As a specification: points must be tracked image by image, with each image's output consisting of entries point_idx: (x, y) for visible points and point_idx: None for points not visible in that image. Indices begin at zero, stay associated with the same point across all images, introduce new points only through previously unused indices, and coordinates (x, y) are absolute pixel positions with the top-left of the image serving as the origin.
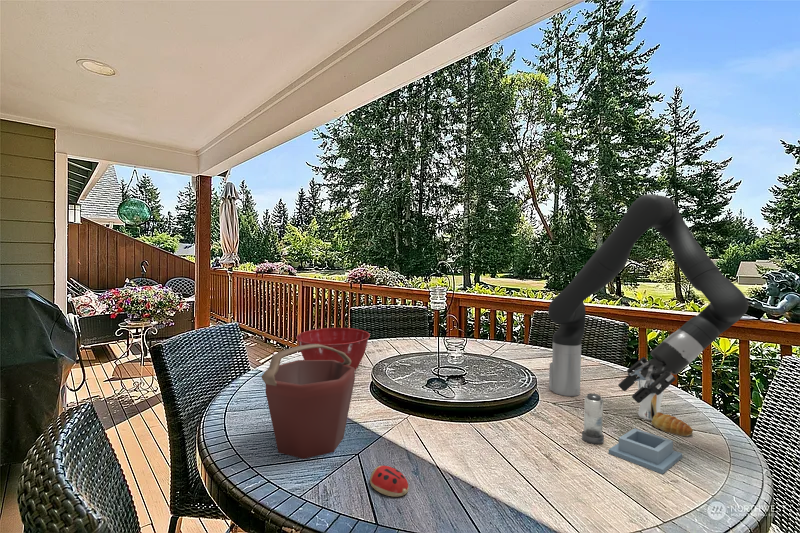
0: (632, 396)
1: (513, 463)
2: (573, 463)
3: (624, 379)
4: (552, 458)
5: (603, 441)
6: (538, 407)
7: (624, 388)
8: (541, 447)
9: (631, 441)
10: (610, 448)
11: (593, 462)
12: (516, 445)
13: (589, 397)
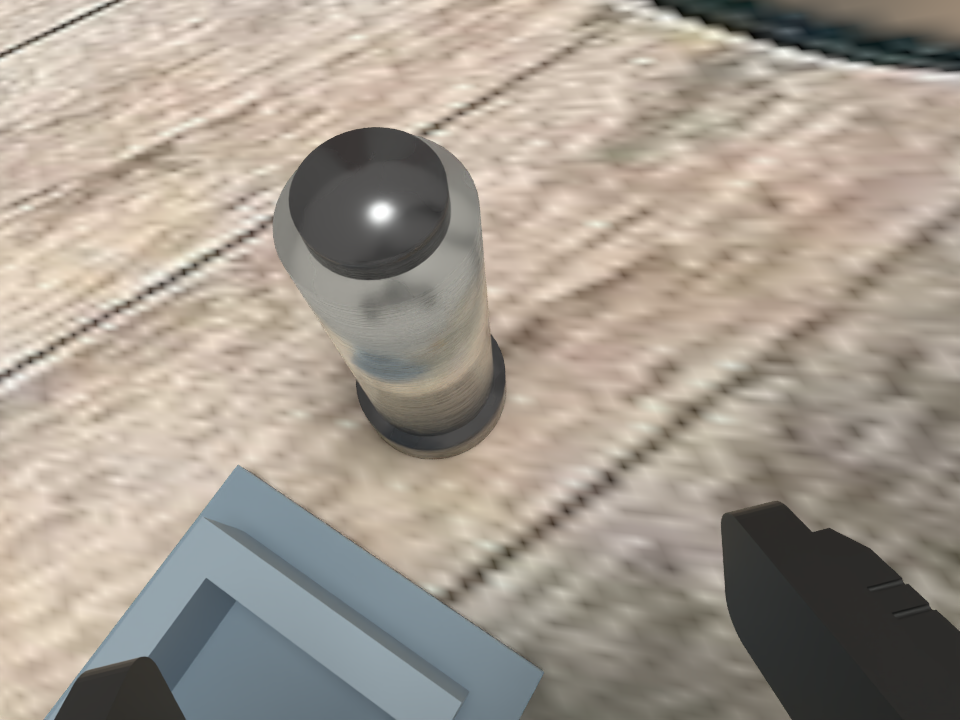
0: (118, 663)
1: (52, 42)
2: (84, 273)
3: (870, 615)
4: (126, 181)
5: (409, 453)
6: (863, 82)
7: (750, 618)
8: (244, 130)
9: (148, 615)
10: (253, 479)
11: (110, 373)
12: (240, 33)
13: (324, 155)
